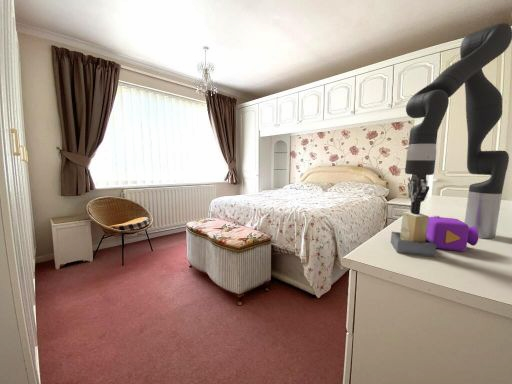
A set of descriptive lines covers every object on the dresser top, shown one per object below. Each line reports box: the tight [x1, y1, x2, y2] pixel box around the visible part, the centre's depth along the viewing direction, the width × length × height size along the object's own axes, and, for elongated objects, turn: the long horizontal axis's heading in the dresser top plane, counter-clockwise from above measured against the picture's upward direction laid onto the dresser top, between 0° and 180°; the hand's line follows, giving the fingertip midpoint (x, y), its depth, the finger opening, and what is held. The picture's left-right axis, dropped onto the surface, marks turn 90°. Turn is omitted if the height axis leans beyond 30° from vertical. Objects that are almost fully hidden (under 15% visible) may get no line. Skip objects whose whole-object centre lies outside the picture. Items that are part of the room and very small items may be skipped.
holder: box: [390, 231, 437, 258], centre depth 75 cm, size 10×10×4 cm
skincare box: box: [400, 211, 430, 243], centre depth 75 cm, size 6×4×12 cm
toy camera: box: [426, 214, 479, 252], centre depth 78 cm, size 11×14×10 cm
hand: (414, 213), depth 74 cm, fingers closed
